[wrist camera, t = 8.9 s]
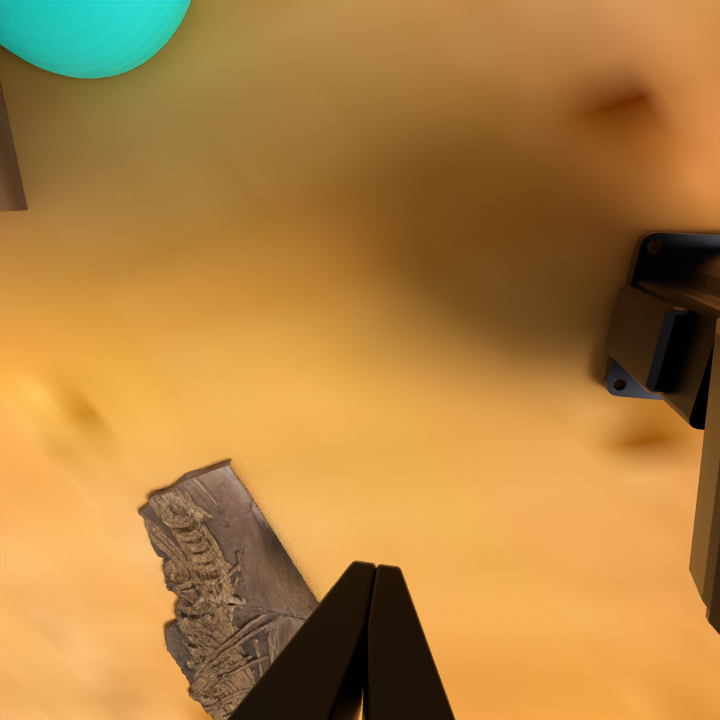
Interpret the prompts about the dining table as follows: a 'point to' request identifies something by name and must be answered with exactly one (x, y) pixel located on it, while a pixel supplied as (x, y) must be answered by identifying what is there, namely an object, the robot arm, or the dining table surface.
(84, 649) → the dining table surface
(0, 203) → the bar
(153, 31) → the donuts
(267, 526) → the wooden fragment
